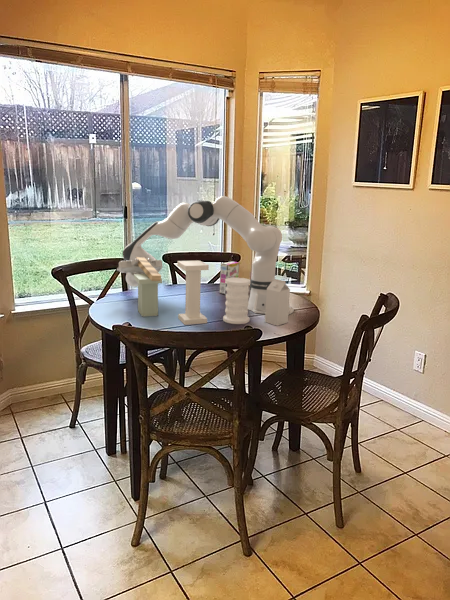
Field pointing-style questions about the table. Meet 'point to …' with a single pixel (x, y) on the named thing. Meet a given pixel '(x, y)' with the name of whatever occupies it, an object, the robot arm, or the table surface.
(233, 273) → the candy bar box
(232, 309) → the decorative container
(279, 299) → the milk carton
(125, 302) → the table surface
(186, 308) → the shelf stand
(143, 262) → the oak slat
